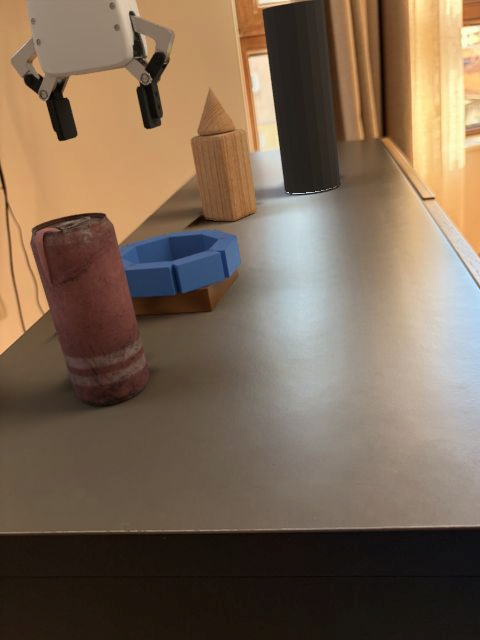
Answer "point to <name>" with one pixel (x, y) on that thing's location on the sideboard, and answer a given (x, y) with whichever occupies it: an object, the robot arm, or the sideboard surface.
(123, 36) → the robot arm
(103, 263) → the can
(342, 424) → the sideboard surface
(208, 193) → the decorative item
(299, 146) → the vase
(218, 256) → the ring
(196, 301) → the platform
